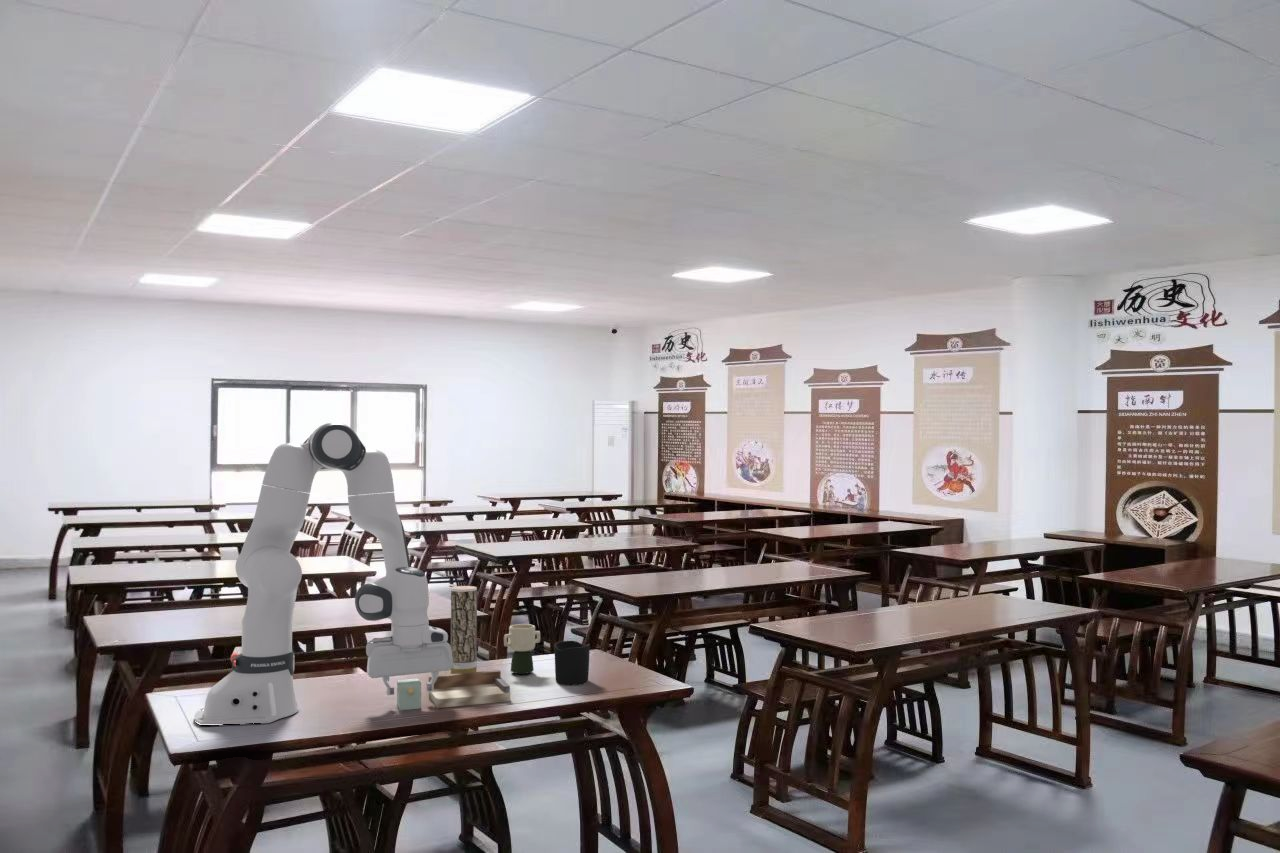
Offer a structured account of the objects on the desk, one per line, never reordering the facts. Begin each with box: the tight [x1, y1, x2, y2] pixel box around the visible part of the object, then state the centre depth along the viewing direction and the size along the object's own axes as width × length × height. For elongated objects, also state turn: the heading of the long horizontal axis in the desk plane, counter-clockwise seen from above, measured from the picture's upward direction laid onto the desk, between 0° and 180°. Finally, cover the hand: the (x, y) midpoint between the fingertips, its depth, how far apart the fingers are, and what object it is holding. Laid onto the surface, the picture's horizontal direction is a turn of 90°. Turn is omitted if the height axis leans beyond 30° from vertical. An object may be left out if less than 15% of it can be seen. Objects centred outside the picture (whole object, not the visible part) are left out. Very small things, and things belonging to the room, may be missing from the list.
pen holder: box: [553, 640, 591, 686], centre depth 258 cm, size 9×9×10 cm
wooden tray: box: [428, 669, 511, 709], centre depth 240 cm, size 18×12×5 cm, turn 112°
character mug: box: [503, 623, 541, 675], centre depth 267 cm, size 11×7×13 cm, turn 121°
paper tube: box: [450, 585, 478, 674], centre depth 257 cm, size 7×7×25 cm
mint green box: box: [396, 678, 422, 711], centre depth 232 cm, size 5×6×6 cm
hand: (410, 692), depth 234 cm, fingers open, 8 cm apart
